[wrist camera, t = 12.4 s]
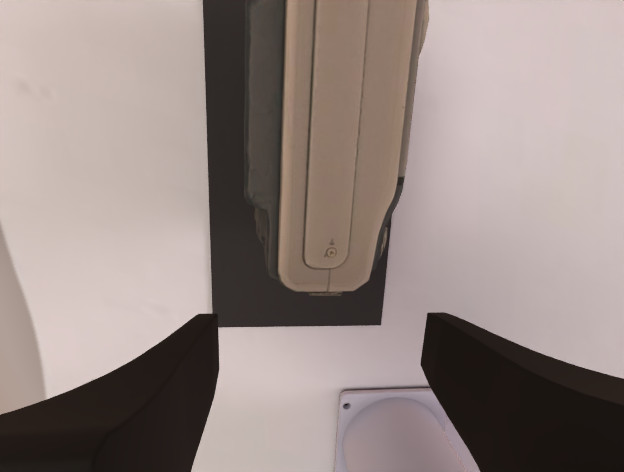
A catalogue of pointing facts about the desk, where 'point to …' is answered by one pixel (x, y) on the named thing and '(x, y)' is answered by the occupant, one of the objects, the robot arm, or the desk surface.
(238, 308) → the desk pad
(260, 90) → the camera
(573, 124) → the desk surface
